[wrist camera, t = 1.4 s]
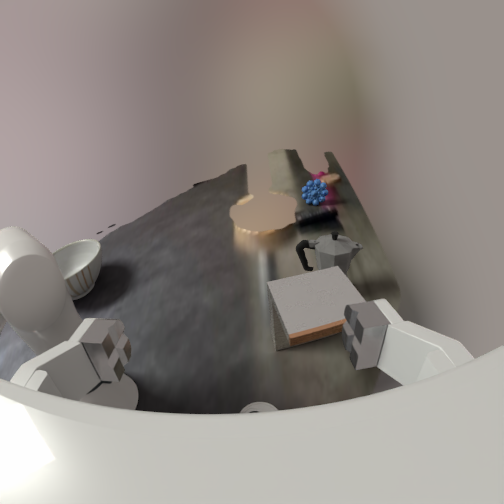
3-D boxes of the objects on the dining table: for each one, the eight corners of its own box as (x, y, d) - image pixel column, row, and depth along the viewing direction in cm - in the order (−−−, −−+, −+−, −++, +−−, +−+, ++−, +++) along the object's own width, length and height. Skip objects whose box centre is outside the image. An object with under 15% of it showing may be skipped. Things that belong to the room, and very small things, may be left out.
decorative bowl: (96, 314, 70) (78, 281, 64) (38, 315, 71) (21, 286, 64) (123, 263, 93) (112, 234, 87) (69, 270, 93) (57, 244, 87)
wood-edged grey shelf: (290, 392, 46) (290, 338, 38) (272, 340, 58) (266, 282, 50) (358, 370, 48) (374, 313, 39) (331, 324, 60) (337, 265, 51)
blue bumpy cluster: (329, 203, 117) (329, 177, 111) (327, 208, 112) (327, 181, 106) (304, 200, 122) (303, 175, 116) (300, 206, 117) (299, 179, 111)
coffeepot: (355, 284, 70) (362, 223, 61) (357, 308, 63) (366, 244, 53) (298, 281, 74) (297, 221, 65) (294, 305, 67) (292, 241, 57)
